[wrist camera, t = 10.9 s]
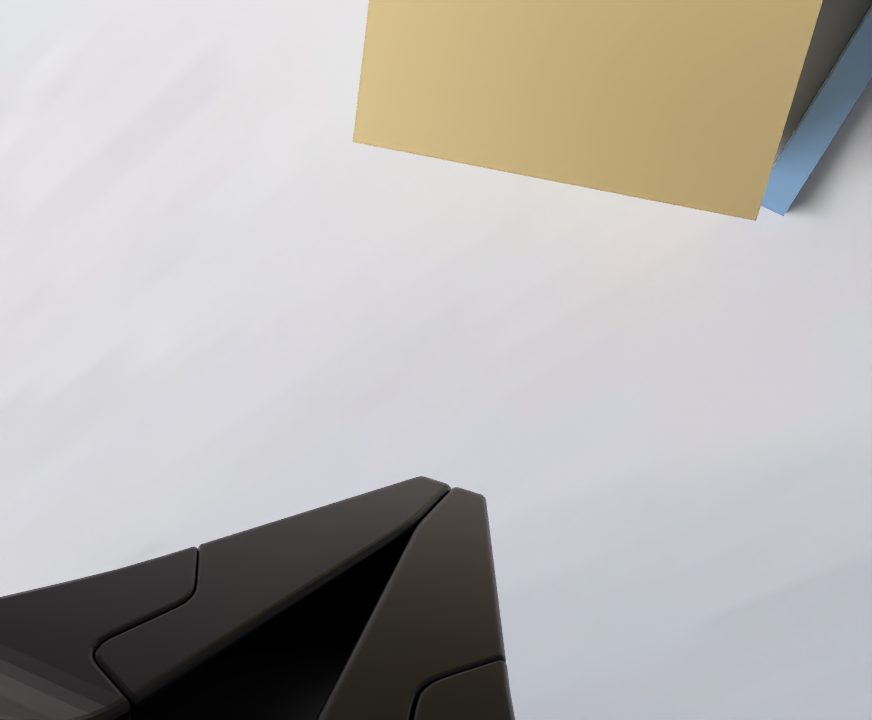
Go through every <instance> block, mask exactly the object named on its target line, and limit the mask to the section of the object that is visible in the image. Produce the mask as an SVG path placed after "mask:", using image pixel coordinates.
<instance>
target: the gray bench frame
mask: <svg viewBox="0 0 872 720" xmlns="http://www.w3.org/2000/svg"><path fill="white" fill-rule="evenodd" d="M871 78H872V4H871V6H870V8H869V9H868V11H867V13H866V14H865V16H864V18H863V19H862V21H861V22H860V24H859V26H858V27H857V29H856V31H855V32H854V34H853V36H852V37H851V39H850V40H849V42H848V44H847V45H846V47H845V49H844V50H843V52H842V54H841V55H840V57H839V58H838V60H837V62H836V63H835V65H834V67H833V68H832V70H831V71H830V73H829V75H828V76H827V78H826V80H825V81H824V83H823V85H822V86H821V88H820V89H819V91H818V93H817V94H816V96H815V98H814V99H813V101H812V103H811V104H810V106H809V107H808V109H807V111H806V112H805V114H804V116H803V117H802V119H801V120H800V122H799V124H798V125H797V127H796V129H795V130H794V132H793V134H792V135H791V137H790V138H789V140H788V142H787V143H786V145H785V147H784V148H783V150H782V152H781V153H780V155H779V156H778V158H777V160H776V161H775V163H774V165H773V167H772V170H771V173H770V177H769V180H768V183H767V186H766V190H765V193H764V196H763V200H762V203H761V206H763V207H765V208H768V209H770V210H772V211H774V212H776V213H778V214H780V215H782V216H784V215H785V213H786V211H787V210H788V208H789V207H790V205H791V204H792V202H793V200H794V199H795V197H796V196H797V194H798V193H799V191H800V189H801V188H802V186H803V185H804V183H805V182H806V180H807V178H808V177H809V175H810V174H811V172H812V171H813V169H814V167H815V166H816V164H817V163H818V161H819V160H820V158H821V156H822V155H823V153H824V152H825V150H826V149H827V147H828V145H829V144H830V142H831V141H832V139H833V138H834V136H835V134H836V133H837V131H838V130H839V128H840V127H841V125H842V123H843V122H844V120H845V119H846V117H847V116H848V114H849V112H850V111H851V109H852V108H853V106H854V105H855V103H856V101H857V100H858V98H859V97H860V95H861V94H862V92H863V90H864V89H865V87H866V86H867V84H868V83H869V81H870V79H871Z"/></svg>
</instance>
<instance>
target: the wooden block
mask: <svg viewBox="0 0 872 720" xmlns="http://www.w3.org/2000/svg"><path fill="white" fill-rule="evenodd" d="M822 2H823V0H369V6H368V15H367V23H366V32H365V41H364V50H363V58H362V67H361V76H360V84H359V93H358V102H357V111H356V119H355V128H354V137H353V142H356V143H361V144H366V145H371V146H376V147H381V148H387V149H392V150H397V151H402V152H407V153H412V154H417V155H422V156H427V157H433V158H438V159H443V160H448V161H453V162H458V163H463V164H468V165H474V166H479V167H484V168H489V169H494V170H499V171H504V172H509V173H514V174H520V175H525V176H530V177H535V178H540V179H545V180H550V181H555V182H561V183H566V184H571V185H576V186H581V187H586V188H591V189H596V190H601V191H607V192H612V193H617V194H622V195H627V196H632V197H637V198H642V199H648V200H653V201H658V202H663V203H668V204H673V205H678V206H683V207H689V208H694V209H699V210H704V211H709V212H714V213H719V214H724V215H729V216H735V217H740V218H745V219H750V220H755V221H756V219H757V216H758V213H759V209H760V206H761V203H762V200H763V196H764V193H765V190H766V186H767V183H768V180H769V177H770V173H771V170H772V167H773V163H774V160H775V157H776V153H777V150H778V147H779V144H780V140H781V137H782V134H783V130H784V127H785V124H786V120H787V117H788V114H789V111H790V107H791V104H792V101H793V97H794V94H795V91H796V87H797V84H798V81H799V78H800V74H801V71H802V68H803V64H804V61H805V58H806V54H807V51H808V48H809V45H810V41H811V38H812V35H813V31H814V28H815V25H816V21H817V18H818V15H819V12H820V8H821V5H822Z"/></svg>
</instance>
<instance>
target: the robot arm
mask: <svg viewBox="0 0 872 720" xmlns="http://www.w3.org/2000/svg"><path fill="white" fill-rule="evenodd" d="M505 662H506V658H505V650H504V642H503V634H502V626H501V618H500V610H499V602H498V594H497V586H496V577H495V569H494V561H493V553H492V545H491V537H490V529H489V521H488V513H487V505H486V499H485V497H484V496H483V495H481V494H478V493H474V492H471V491H468V490H465V489H462V488H458V487H455V488H453V489H451V487H450V486H449V485H447V484H446V483H443V482H439V481H436V480H433V479H430V478H427V477H422V476H420V477H416V478H412V479H409V480H406V481H403V482H400V483H396V484H393V485H390V486H387V487H384V488H380V489H377V490H374V491H371V492H368V493H364V494H361V495H358V496H355V497H352V498H348V499H345V500H342V501H339V502H336V503H332V504H329V505H326V506H323V507H320V508H316V509H313V510H310V511H307V512H304V513H300V514H297V515H294V516H291V517H288V518H284V519H281V520H278V521H275V522H271V523H268V524H265V525H262V526H259V527H255V528H252V529H249V530H246V531H243V532H239V533H236V534H233V535H230V536H226V537H223V538H220V539H217V540H214V541H210V542H207V543H204V544H201V545H200V546H199V547H198V549H197V548H196V547H191V548H188V549H184V550H181V551H178V552H175V553H172V554H168V555H165V556H162V557H158V558H155V559H151V560H148V561H144V562H141V563H138V564H134V565H131V566H127V567H124V568H120V569H117V570H113V571H109V572H105V573H101V574H96V575H92V576H88V577H84V578H80V579H76V580H72V581H68V582H64V583H59V584H55V585H51V586H46V587H42V588H38V589H33V590H29V591H25V592H20V593H16V594H12V595H7V596H3V597H0V720H515V717H514V711H513V705H512V700H511V694H510V687H509V679H508V671H507V665H506V663H505Z"/></svg>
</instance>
